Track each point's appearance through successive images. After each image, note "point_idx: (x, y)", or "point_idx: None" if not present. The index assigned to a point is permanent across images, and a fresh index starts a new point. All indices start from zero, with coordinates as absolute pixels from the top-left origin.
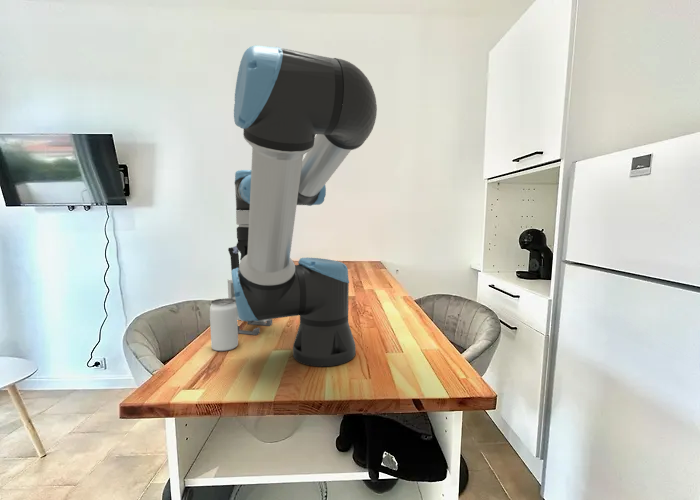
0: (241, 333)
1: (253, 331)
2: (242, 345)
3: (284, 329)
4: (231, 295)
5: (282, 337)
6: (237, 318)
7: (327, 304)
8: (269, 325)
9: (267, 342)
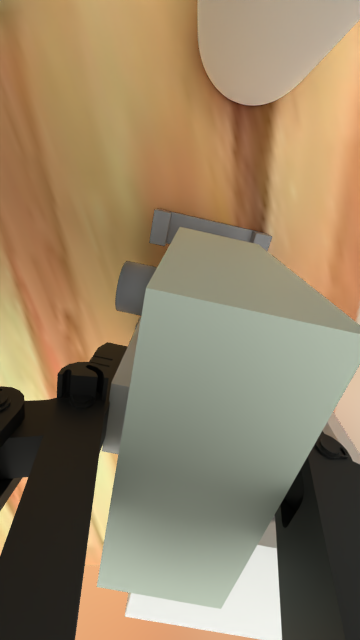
0: (226, 224)
1: (169, 212)
2: (179, 62)
3: (69, 282)
4: None
5: (40, 185)
6: None
7: None
8: (139, 318)
9: (79, 114)
